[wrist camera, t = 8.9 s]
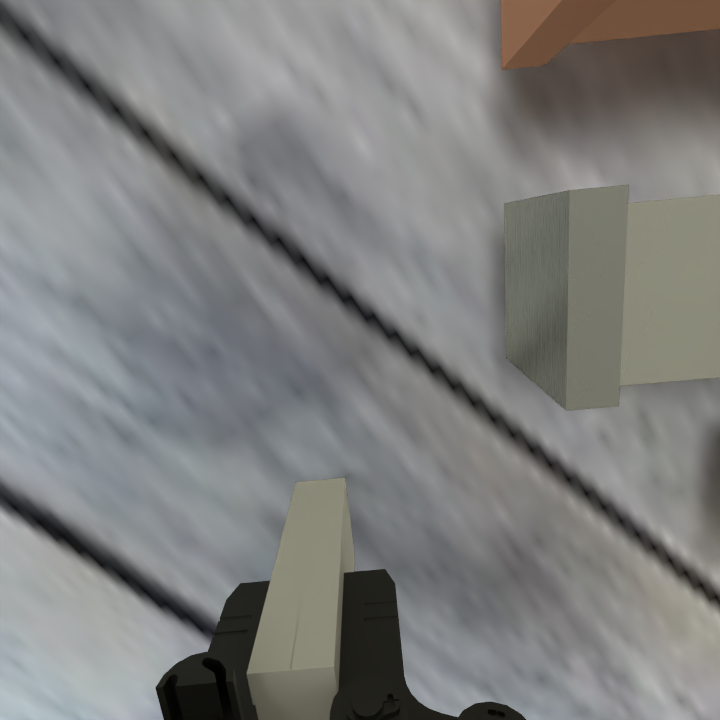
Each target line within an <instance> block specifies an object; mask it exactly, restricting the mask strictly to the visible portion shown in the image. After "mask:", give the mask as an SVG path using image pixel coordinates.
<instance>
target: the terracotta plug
mask: <svg viewBox="0 0 720 720" xmlns="http://www.w3.org/2000/svg"><path fill="white" fill-rule="evenodd" d="M713 29H720V0H501V44H502V70H503V69H513V68H523V67H533V66H543V65H546V64H547V63H548V62H549V61H550V60H551V59H552V58H553V57H555V56H556V55H557V54H558V53H559V52H560V51H561V50H562V49H563V48H564V47H566V46H567V45H568V44H576V43H585V42H595V41H605V40H615V39H625V38H635V37H644V36H654V35H664V34H674V33H684V32H694V31H703V30H713Z"/></svg>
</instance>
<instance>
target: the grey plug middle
mask: <svg viewBox="0 0 720 720" xmlns="http://www.w3.org/2000/svg"><path fill="white" fill-rule="evenodd" d="M628 195H629V185H621V186H610V187H599V188H589V189H578V190H569V191H564V192H559V193H554V194H549V195H544V196H539V197H534V198H529V199H524V200H519V201H514V202H509V203H504V238H505V303H506V359H508V360H509V361H510V362H511V363H512V364H513V365H515V366H516V367H517V368H518V369H519V370H520V371H521V372H523V373H524V374H525V375H526V376H527V377H528V378H529V379H531V380H532V381H533V382H534V383H535V384H536V385H537V386H539V387H540V388H541V389H542V390H543V391H544V392H545V393H547V394H548V395H549V396H550V397H551V398H552V399H553V400H555V401H556V402H557V403H558V404H559V405H560V406H561V407H563V408H564V409H565V410H578V409H590V408H603V407H615V406H619V395H620V386H622V385H634V384H646V383H658V382H670V381H682V380H694V379H706V378H718V377H720V195H712V196H701V197H690V198H680V199H669V200H658V201H647V202H637V203H628Z"/></svg>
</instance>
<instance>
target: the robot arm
mask: <svg viewBox="0 0 720 720" xmlns="http://www.w3.org/2000/svg"><path fill="white" fill-rule="evenodd" d="M156 691H157V695H158V699H159V703H160V706H161V710H162V714H163V718H164V720H526V719H525V718H524V717H523V716H522V714H520V713H518V712H517V711H515V710H514V709H512V708H510V707H509V706H507V705H503V704H499V703H495V702H483V703H476V704H474V705H472V706H470V707H469V708H467V709H465V710H463V711H462V713H461V714H460V716H459V717H454V716H450V715H446V714H442V713H439V712H436V711H434V710H431V709H429V708H427V707H426V706H424V705H423V704H421V703H420V702H418V701H417V699H416V698H415V697H414V696H413V695H412V694H411V692H410V691H409V689H408V687H407V685H406V681H405V677H404V669H403V659H402V649H401V639H400V629H399V619H398V609H397V599H396V589H395V583H394V581H393V580H392V579H391V577H390V576H389V574H388V573H387V571H386V570H385V569H381V570H369V571H358V572H355V553H354V545H353V537H352V529H351V521H350V513H349V505H348V496H347V488H346V480H345V478H334V479H324V480H313V481H302V482H295V486H294V490H293V494H292V498H291V502H290V506H289V509H288V513H287V517H286V521H285V525H284V529H283V533H282V537H281V541H280V545H279V549H278V553H277V557H276V560H275V564H274V568H273V572H272V576H271V580H270V581H262V582H250V583H240V585H239V586H238V587H237V588H236V589H235V590H234V592H233V593H232V594H231V595H230V596H229V597H228V599H227V600H226V603H225V605H224V608H223V611H222V614H221V616H220V621H219V622H218V625H217V628H216V630H215V636H214V637H213V639H212V641H211V644H210V647H209V650H208V652H203V653H199V654H195V655H191V656H189V657H187V658H186V659H184V660H182V661H180V662H178V663H177V664H175V665H174V666H173V667H172V668H171V669H170V670H169V671H168V672H166V673H165V674H164V676H163V677H162V679H161V680H160V682H159V683H158V685H157V686H156Z"/></svg>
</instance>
